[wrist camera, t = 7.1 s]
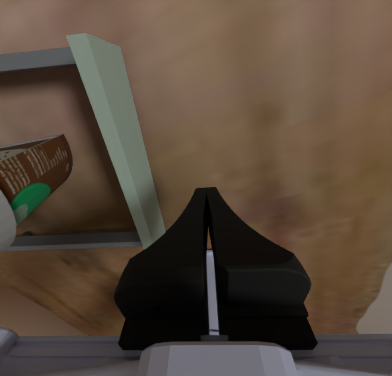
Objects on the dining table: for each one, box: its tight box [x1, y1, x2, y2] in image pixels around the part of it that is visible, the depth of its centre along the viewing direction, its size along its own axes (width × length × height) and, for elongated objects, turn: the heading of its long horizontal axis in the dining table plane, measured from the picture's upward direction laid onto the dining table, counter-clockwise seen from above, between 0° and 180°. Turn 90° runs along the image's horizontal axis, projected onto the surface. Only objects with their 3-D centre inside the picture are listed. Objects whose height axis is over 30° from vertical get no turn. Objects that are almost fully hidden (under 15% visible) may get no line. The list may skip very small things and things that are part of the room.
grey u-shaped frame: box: [0, 33, 165, 251], centre depth 16 cm, size 18×19×5 cm
